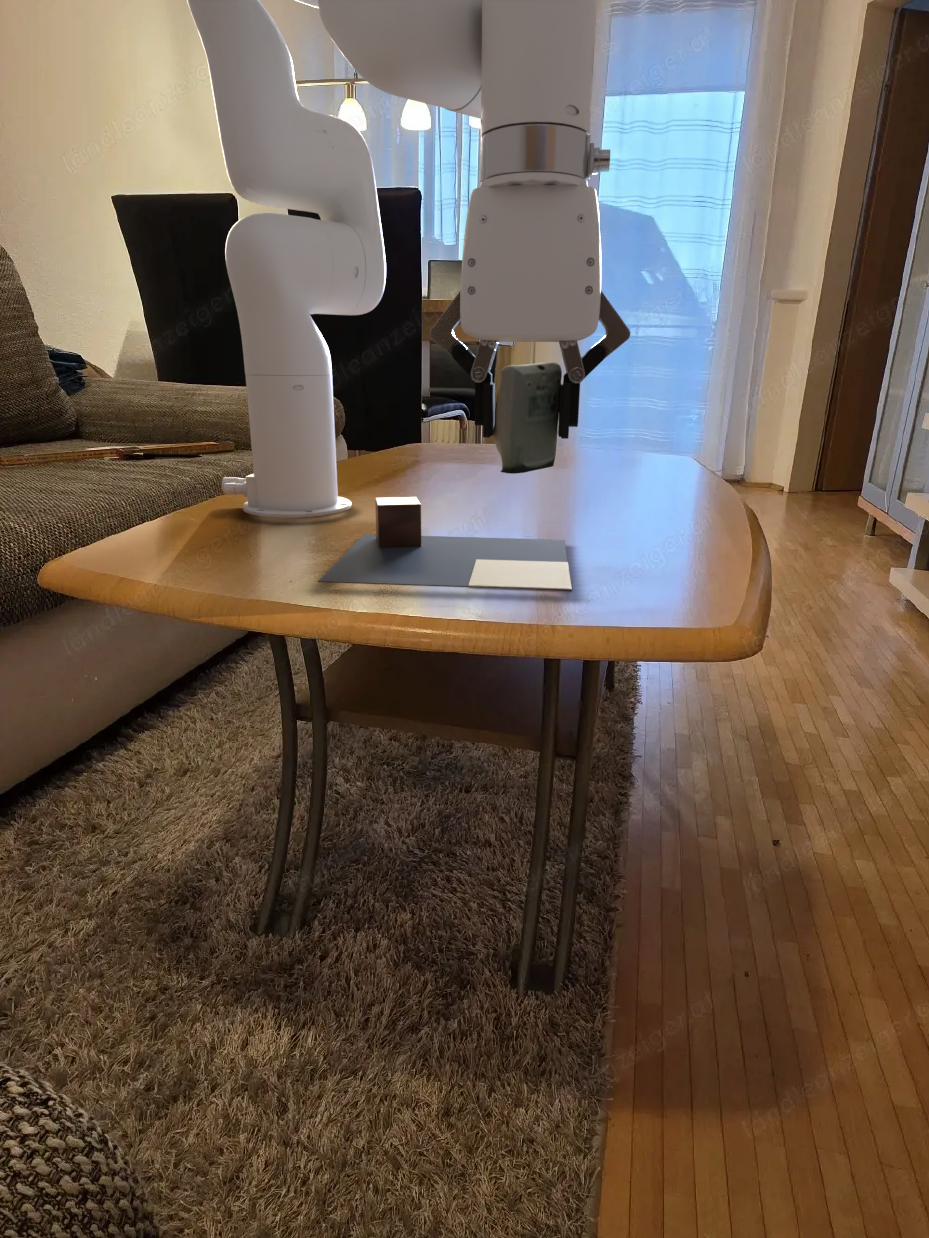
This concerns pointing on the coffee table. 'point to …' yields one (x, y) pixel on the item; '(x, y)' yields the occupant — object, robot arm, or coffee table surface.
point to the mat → (457, 563)
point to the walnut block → (398, 521)
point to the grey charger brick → (527, 416)
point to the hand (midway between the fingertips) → (525, 433)
